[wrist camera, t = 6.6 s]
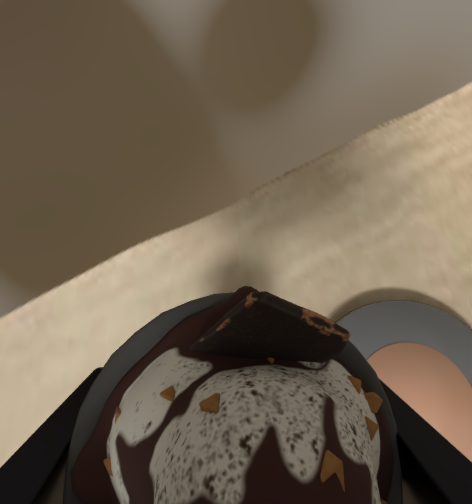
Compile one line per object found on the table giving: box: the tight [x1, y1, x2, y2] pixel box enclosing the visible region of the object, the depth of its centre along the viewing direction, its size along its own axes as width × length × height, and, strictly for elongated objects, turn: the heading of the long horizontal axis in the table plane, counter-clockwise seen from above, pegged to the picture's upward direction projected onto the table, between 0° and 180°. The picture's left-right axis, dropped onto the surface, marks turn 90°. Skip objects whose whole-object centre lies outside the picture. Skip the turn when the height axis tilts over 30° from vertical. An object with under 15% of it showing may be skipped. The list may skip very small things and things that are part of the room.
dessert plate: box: [336, 300, 472, 462], centre depth 20 cm, size 15×15×1 cm
